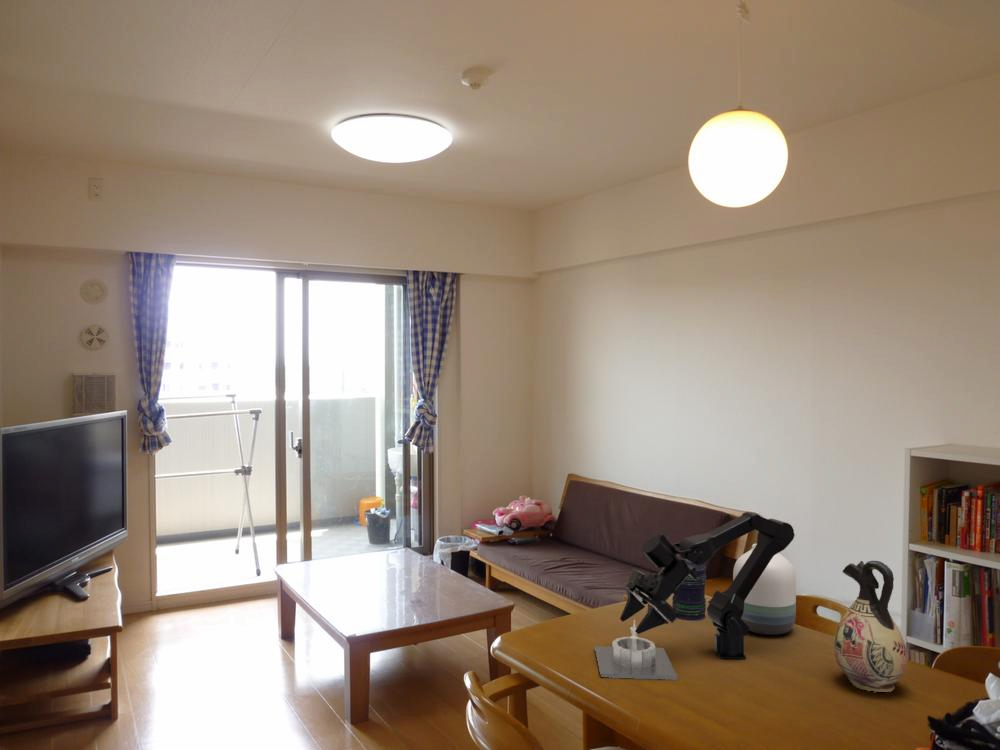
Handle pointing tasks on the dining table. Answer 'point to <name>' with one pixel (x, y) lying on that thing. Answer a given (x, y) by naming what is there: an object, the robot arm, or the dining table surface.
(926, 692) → the dining table surface
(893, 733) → the dining table surface
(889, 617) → the ceramic jug
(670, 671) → the duct collar
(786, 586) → the vase
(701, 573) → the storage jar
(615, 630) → the dining table surface
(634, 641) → the chess piece
